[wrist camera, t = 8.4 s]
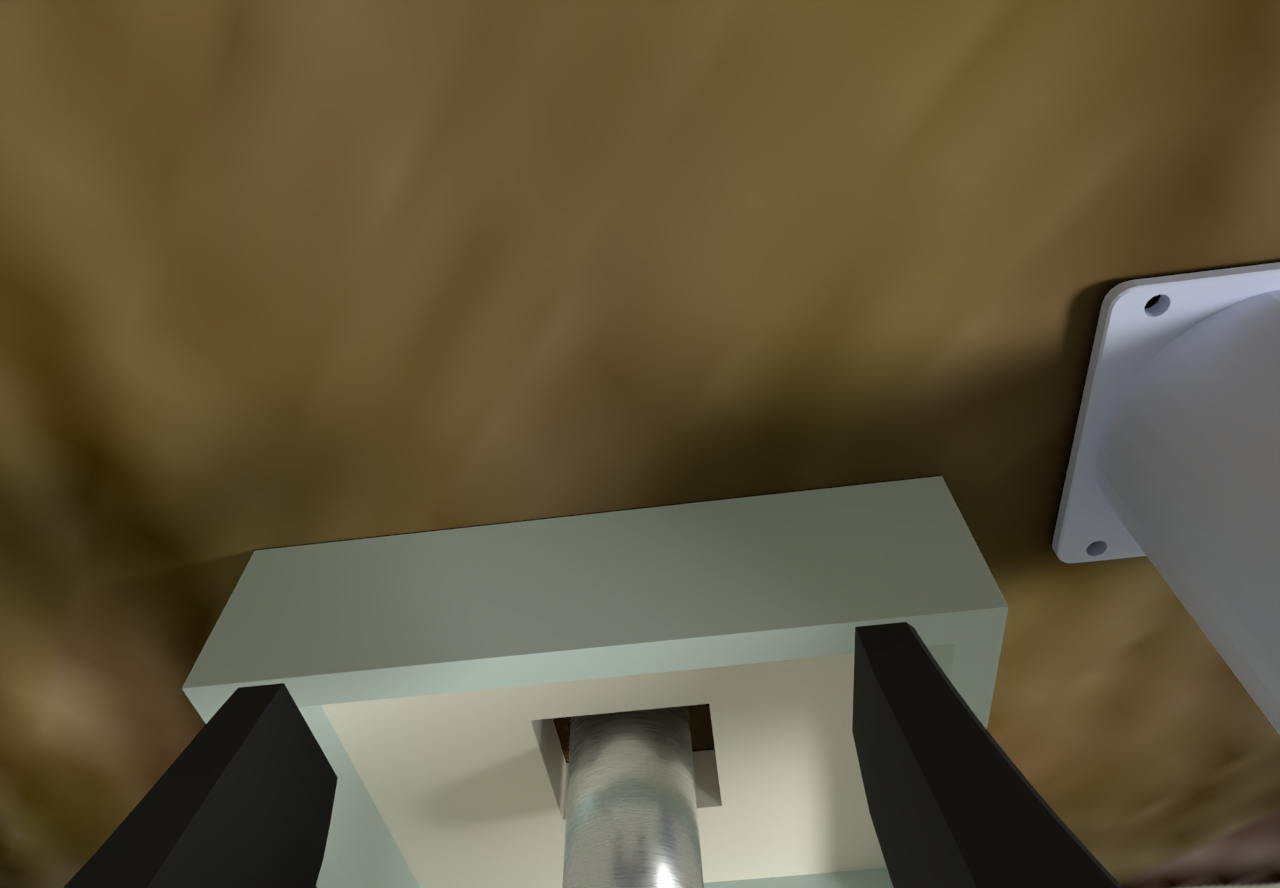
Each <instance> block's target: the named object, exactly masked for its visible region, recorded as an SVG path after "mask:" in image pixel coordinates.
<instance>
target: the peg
mask: <svg viewBox="0 0 1280 888" xmlns="http://www.w3.org/2000/svg"><path fill="white" fill-rule="evenodd" d="M563 888H704V882H703V871H702V859H701V847H700V836H699V824H698V813H697V801H696V789H695V778H694V766H693V754H692V743H691V731H690V720H689V708H688V706H678V707H668V708H657V709H646V710H636V711H625V712H615V713H604V714H593V715H583V716H572V717H571V724H570V744H569V765H568V785H567V806H566V826H565V847H564V867H563Z"/></svg>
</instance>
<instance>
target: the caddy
mask: <svg viewBox="0 0 1280 888" xmlns="http://www.w3.org/2000/svg"><path fill="white" fill-rule="evenodd" d="M1007 612H1008V605H1007V603H1006V601H1005V599H1004V597H1003V595H1002V593H1001V591H1000V589H999V587H998V585H997V583H996V581H995V579H994V577H993V575H992V573H991V571H990V569H989V567H988V566H987V564H986V562H985V560H984V558H983V556H982V554H981V552H980V550H979V548H978V546H977V544H976V542H975V540H974V538H973V536H972V534H971V532H970V530H969V528H968V526H967V524H966V522H965V520H964V518H963V516H962V514H961V513H960V511H959V509H958V507H957V505H956V503H955V501H954V499H953V497H952V495H951V493H950V491H949V489H948V487H947V485H946V483H945V481H944V479H943V477H942V476H937V477H928V478H918V479H909V480H900V481H891V482H882V483H872V484H863V485H854V486H845V487H836V488H826V489H817V490H808V491H799V492H790V493H780V494H771V495H762V496H753V497H744V498H734V499H725V500H716V501H707V502H697V503H688V504H679V505H670V506H661V507H651V508H642V509H633V510H624V511H615V512H605V513H596V514H587V515H578V516H569V517H559V518H550V519H541V520H532V521H523V522H513V523H504V524H495V525H486V526H477V527H467V528H458V529H449V530H440V531H431V532H421V533H412V534H403V535H394V536H385V537H375V538H366V539H357V540H348V541H339V542H329V543H320V544H311V545H302V546H293V547H283V548H274V549H265V550H256V551H254V553H253V555H252V557H251V558H250V560H249V562H248V564H247V566H246V568H245V570H244V572H243V574H242V575H241V577H240V579H239V581H238V583H237V585H236V587H235V589H234V591H233V592H232V594H231V596H230V598H229V600H228V602H227V604H226V606H225V608H224V609H223V611H222V613H221V615H220V617H219V619H218V621H217V623H216V625H215V626H214V628H213V630H212V632H211V634H210V636H209V638H208V640H207V642H206V643H205V645H204V647H203V649H202V651H201V653H200V655H199V657H198V659H197V660H196V662H195V664H194V666H193V668H192V670H191V672H190V674H189V676H188V677H187V679H186V681H185V683H184V685H183V687H182V690H183V691H184V693H185V694H186V696H187V697H188V699H189V700H190V701H191V703H192V704H193V706H194V707H195V709H196V710H197V712H198V713H199V715H200V716H201V718H202V719H203V721H204V722H205V723H206V724H207V723H208V721H209V720H210V719H211V718H212V717H213V716H214V714H215V713H216V712H217V711H218V710H219V709H220V707H221V706H222V705H223V704H224V703H225V702H226V701H227V700H228V698H229V697H230V696H231V695H232V694H233V693H234V692H235V691H236V689H237V688H240V687H250V686H260V685H270V684H280V683H284V684H285V686H286V688H287V689H288V691H289V693H290V695H291V696H292V698H293V700H294V702H295V703H296V705H297V707H298V709H299V710H300V712H301V714H302V716H303V717H304V719H305V721H306V723H307V724H308V726H309V728H310V730H311V731H312V733H313V735H314V737H315V738H316V740H317V742H318V744H319V745H320V747H321V749H322V751H323V752H324V754H325V756H326V758H327V759H328V761H329V763H330V765H331V766H332V768H333V770H334V772H335V773H336V775H337V777H338V780H337V786H336V792H335V798H334V804H333V810H332V816H331V822H330V828H329V833H328V838H327V843H326V848H325V853H324V858H323V862H322V866H321V869H320V873H319V876H318V879H317V883H316V886H317V888H563V867H564V847H565V826H566V806H567V785H568V765H569V763H566V761H565V757H564V754H563V751H562V747H561V744H560V741H559V737H558V734H557V731H556V727H555V724H554V721H553V718H561V717H572V716H583V715H593V714H604V713H615V712H625V711H636V710H646V709H657V708H668V707H678V706H689V705H700V704H709V706H710V714H711V722H712V730H713V738H714V746H715V750H706V751H695V752H692V754H693V766H694V778H695V789H696V801H697V813H698V824H699V836H700V847H701V859H702V871H703V882H704V888H893V885H892V882H891V879H890V876H889V872H888V869H887V866H886V863H885V860H884V857H883V854H882V850H881V847H880V844H879V841H878V838H877V835H876V832H875V828H874V825H873V822H872V819H871V816H870V812H869V807H868V803H867V798H866V794H865V789H864V784H863V780H862V775H861V771H860V766H859V761H858V756H857V751H856V746H855V742H854V737H853V732H852V722H853V687H854V653H855V627H859V626H869V625H879V624H889V623H899V622H907V623H908V624H910V625H911V626H913V627H914V628H915V630H916V631H917V633H918V634H919V636H920V637H921V639H922V641H923V642H924V644H925V645H926V647H927V648H928V650H929V651H930V653H931V654H932V656H933V657H934V659H935V660H936V661H937V663H938V664H939V666H940V667H941V669H942V670H943V672H944V673H945V674H946V676H947V677H948V679H949V680H950V681H951V683H952V684H953V686H954V687H955V688H956V690H957V691H958V692H959V694H960V695H961V696H962V698H963V699H964V700H965V702H966V703H967V704H968V706H969V707H970V709H971V710H972V711H973V713H974V714H975V715H976V717H977V718H978V719H979V721H980V722H981V723H982V724H983V726H984V727H985V728H986V730H987V725H988V719H989V714H990V708H991V702H992V697H993V691H994V686H995V680H996V674H997V669H998V663H999V657H1000V652H1001V646H1002V640H1003V635H1004V629H1005V624H1006V618H1007Z"/></svg>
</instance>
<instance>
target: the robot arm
mask: <svg viewBox="0 0 1280 888" xmlns="http://www.w3.org/2000/svg"><path fill="white" fill-rule="evenodd" d="M1160 294H1161V297H1160V298H1159V300H1158V302H1157V303H1156V304H1155V305H1153V306H1152V307H1150V308H1147V309H1144V307H1145V305H1146V303H1147V302H1148V301H1149V300H1150V299H1151V298H1152V297H1154V296H1157V295H1160ZM1097 541H1098V542H1097ZM1093 542H1096V543H1095V544H1093V545H1090V544H1092V543H1093ZM1089 545H1090V546H1089ZM1052 549H1053V550H1054V552H1055V554H1056V555H1057V557H1058V558H1059V559H1060V561H1063V562H1065V563H1081V562H1091V561H1100V560H1110V559H1120V558H1130V557H1140V556H1147V557H1148V559H1149V560H1150V561H1151V563H1152V564H1153V565H1154V567H1155V568H1156V569H1157V571H1158V572H1159V573H1160V575H1161V576H1162V577H1163V579H1164V580H1165V581H1166V583H1167V584H1168V585H1169V587H1170V588H1171V589H1172V591H1173V592H1174V594H1175V595H1176V596H1177V598H1178V599H1179V600H1180V602H1181V603H1182V604H1183V606H1184V607H1185V608H1186V610H1187V611H1188V612H1189V614H1190V615H1191V616H1192V618H1193V619H1194V620H1195V622H1196V623H1197V625H1198V626H1199V627H1200V629H1201V630H1202V631H1203V633H1204V634H1205V635H1206V637H1207V638H1208V639H1209V641H1210V642H1211V643H1212V645H1213V646H1214V647H1215V649H1216V650H1217V651H1218V653H1219V654H1220V655H1221V657H1222V658H1223V660H1224V661H1225V662H1226V664H1227V665H1228V666H1229V668H1230V669H1231V670H1232V672H1233V673H1234V674H1235V676H1236V677H1237V678H1238V680H1239V681H1240V682H1241V684H1242V685H1243V686H1244V688H1245V689H1246V690H1247V692H1248V693H1249V695H1250V696H1251V697H1252V699H1253V700H1254V701H1255V703H1256V704H1257V705H1258V707H1259V708H1260V709H1261V711H1262V712H1263V713H1264V715H1265V716H1266V717H1267V719H1268V720H1269V721H1270V723H1271V724H1272V725H1273V727H1274V728H1275V730H1276V731H1277V732H1278V734H1279V735H1280V262H1278V263H1269V264H1261V265H1253V266H1244V267H1236V268H1228V269H1220V270H1211V271H1203V272H1195V273H1187V274H1178V275H1170V276H1162V277H1154V278H1145V279H1137V280H1130V281H1126V282H1123V283H1120V284H1118V285H1117V286H1115V287H1114V288H1112V289H1111V290H1110V291H1109V292H1108V294H1107V295H1106V296H1105V298H1104V300H1103V303H1102V305H1101V310H1100V315H1099V320H1098V325H1097V330H1096V334H1095V339H1094V344H1093V349H1092V354H1091V358H1090V363H1089V368H1088V373H1087V378H1086V383H1085V387H1084V392H1083V397H1082V402H1081V407H1080V412H1079V416H1078V421H1077V426H1076V431H1075V436H1074V441H1073V445H1072V450H1071V455H1070V460H1069V465H1068V469H1067V474H1066V479H1065V484H1064V489H1063V494H1062V498H1061V503H1060V508H1059V513H1058V518H1057V523H1056V527H1055V532H1054V537H1053V542H1052ZM852 732H853V737H854V742H855V746H856V751H857V756H858V761H859V766H860V771H861V775H862V780H863V784H864V789H865V794H866V798H867V803H868V807H869V812H870V816H871V819H872V822H873V825H874V828H875V832H876V835H877V838H878V841H879V844H880V847H881V850H882V854H883V857H884V860H885V863H886V866H887V869H888V872H889V876H890V879H891V882H892V885H893V888H1123V887H1122V886H1121V885H1120V884H1119V883H1118V882H1117V881H1116V880H1115V878H1114V877H1113V876H1112V875H1111V874H1110V873H1109V872H1108V871H1107V870H1106V869H1105V868H1104V867H1103V866H1102V865H1101V864H1100V862H1099V861H1098V860H1097V859H1096V858H1095V857H1094V856H1093V855H1092V854H1091V852H1090V851H1089V850H1088V849H1087V848H1086V847H1085V846H1084V845H1083V844H1082V842H1081V841H1080V840H1079V839H1078V838H1077V837H1076V836H1075V835H1074V834H1073V833H1072V831H1071V830H1070V829H1069V828H1068V827H1067V826H1066V825H1065V824H1064V823H1063V821H1062V820H1061V819H1060V818H1059V817H1058V816H1057V814H1056V813H1055V812H1054V811H1053V810H1052V809H1051V807H1050V806H1049V805H1048V804H1047V803H1046V802H1045V801H1044V799H1043V798H1042V797H1041V796H1040V795H1039V794H1038V792H1037V791H1036V790H1035V789H1034V788H1033V786H1032V785H1031V784H1030V783H1029V781H1028V780H1027V779H1026V778H1025V777H1024V775H1023V774H1022V773H1021V772H1020V770H1019V769H1018V768H1017V767H1016V766H1015V764H1014V763H1013V762H1012V761H1011V759H1010V758H1009V757H1008V756H1007V755H1006V753H1005V752H1004V751H1003V750H1002V748H1001V747H1000V746H999V745H998V744H997V742H996V741H995V740H994V738H993V737H992V736H991V735H990V733H989V732H988V731H987V730H986V728H985V727H984V726H983V724H982V723H981V722H980V721H979V719H978V718H977V717H976V715H975V714H974V713H973V711H972V710H971V709H970V707H969V706H968V704H967V703H966V702H965V700H964V699H963V698H962V696H961V695H960V694H959V692H958V691H957V690H956V688H955V687H954V686H953V684H952V683H951V681H950V680H949V679H948V677H947V676H946V674H945V673H944V672H943V670H942V669H941V667H940V666H939V664H938V663H937V661H936V660H935V659H934V657H933V656H932V654H931V653H930V651H929V650H928V648H927V647H926V645H925V644H924V642H923V641H922V639H921V637H920V636H919V634H918V633H917V631H916V630H915V628H914V627H913V626H911V625H910V624H908V623H907V622H899V623H889V624H879V625H869V626H859V627H855V653H854V687H853V722H852ZM337 780H338V777H337V775H336V773H335V772H334V770H333V768H332V766H331V765H330V763H329V761H328V759H327V758H326V756H325V754H324V752H323V751H322V749H321V747H320V745H319V744H318V742H317V740H316V738H315V737H314V735H313V733H312V731H311V730H310V728H309V726H308V724H307V723H306V721H305V719H304V717H303V716H302V714H301V712H300V710H299V709H298V707H297V705H296V703H295V702H294V700H293V698H292V696H291V695H290V693H289V691H288V689H287V688H286V686H285V684H284V683H280V684H270V685H260V686H250V687H240V688H237V689H236V691H235V692H234V693H233V694H232V695H231V696H230V697H229V698H228V700H227V701H226V702H225V703H224V704H223V705H222V706H221V707H220V709H219V710H218V711H217V712H216V713H215V714H214V716H213V717H212V718H211V719H210V720H209V721H208V723H207V724H206V725H205V726H204V727H203V729H202V730H201V731H200V732H199V733H198V734H197V736H196V737H195V738H194V739H193V740H192V742H191V743H190V744H189V745H188V746H187V747H186V749H185V750H184V751H183V752H182V753H181V755H180V756H179V757H178V758H177V759H176V760H175V762H174V763H173V764H172V765H171V766H170V768H169V769H168V770H167V771H166V772H165V773H164V775H163V776H162V777H161V778H160V779H159V780H158V782H157V783H156V784H155V785H154V786H153V788H152V789H151V790H150V791H149V792H148V793H147V794H146V796H145V797H144V798H143V799H142V800H141V801H140V802H139V804H138V805H137V806H136V807H135V808H134V809H133V811H132V812H131V813H130V814H129V815H128V816H127V817H126V819H125V820H124V821H123V822H122V823H121V824H120V826H119V827H118V828H117V829H116V830H115V831H114V832H113V834H112V835H111V836H110V837H109V838H108V839H107V840H106V842H105V843H104V844H103V845H102V846H101V847H100V849H99V850H98V851H97V852H96V853H95V854H94V855H93V856H92V858H91V859H90V860H89V861H88V862H87V863H86V864H85V865H84V866H83V867H82V868H81V869H80V870H79V872H78V873H77V874H76V875H75V876H74V877H73V878H72V879H71V880H70V881H69V882H68V883H67V884H66V886H65V887H64V888H315V886H316V883H317V879H318V876H319V873H320V869H321V866H322V862H323V858H324V853H325V848H326V843H327V838H328V833H329V828H330V822H331V816H332V810H333V804H334V798H335V792H336V786H337Z"/></svg>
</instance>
